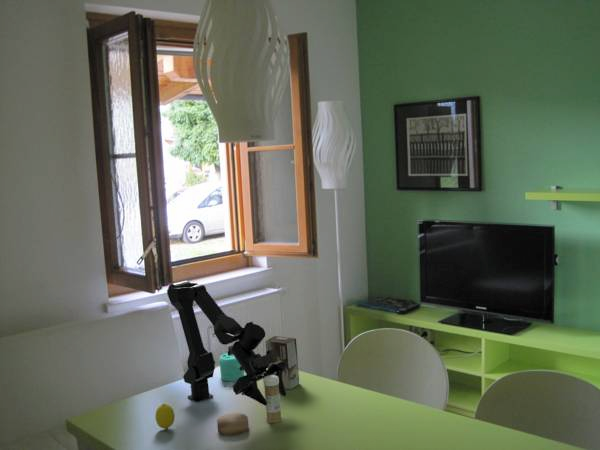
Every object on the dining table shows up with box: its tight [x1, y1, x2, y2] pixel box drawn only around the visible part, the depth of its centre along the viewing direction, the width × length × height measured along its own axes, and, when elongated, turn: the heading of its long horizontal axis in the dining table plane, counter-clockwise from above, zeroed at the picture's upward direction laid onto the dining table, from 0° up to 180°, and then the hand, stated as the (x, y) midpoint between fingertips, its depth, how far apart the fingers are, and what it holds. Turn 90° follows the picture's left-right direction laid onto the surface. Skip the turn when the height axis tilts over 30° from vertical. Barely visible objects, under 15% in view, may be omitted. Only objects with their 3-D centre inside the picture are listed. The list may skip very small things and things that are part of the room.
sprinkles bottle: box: [262, 375, 282, 424], centre depth 200 cm, size 5×5×14 cm
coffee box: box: [265, 335, 300, 390], centre depth 229 cm, size 9×6×16 cm
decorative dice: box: [219, 352, 245, 382], centre depth 240 cm, size 8×8×8 cm
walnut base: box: [216, 412, 249, 437], centre depth 197 cm, size 9×9×3 cm
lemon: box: [155, 403, 176, 430], centre depth 200 cm, size 6×6×8 cm
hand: (275, 400), depth 200 cm, fingers open, 8 cm apart
